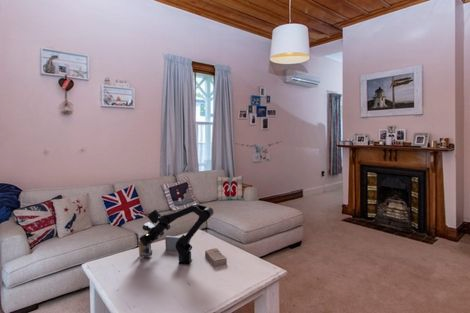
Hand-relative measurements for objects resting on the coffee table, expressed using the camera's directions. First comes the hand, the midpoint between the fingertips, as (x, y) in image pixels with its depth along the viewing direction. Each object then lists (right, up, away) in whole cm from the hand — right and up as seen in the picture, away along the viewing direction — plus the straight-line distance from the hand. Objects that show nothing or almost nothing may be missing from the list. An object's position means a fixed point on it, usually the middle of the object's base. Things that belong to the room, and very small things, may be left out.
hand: (144, 244), depth 177 cm
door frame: (+10, -7, +12) cm, 17 cm away
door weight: (+1, -7, 0) cm, 7 cm away
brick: (+45, -9, -5) cm, 46 cm away
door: (-2, -7, +8) cm, 11 cm away
